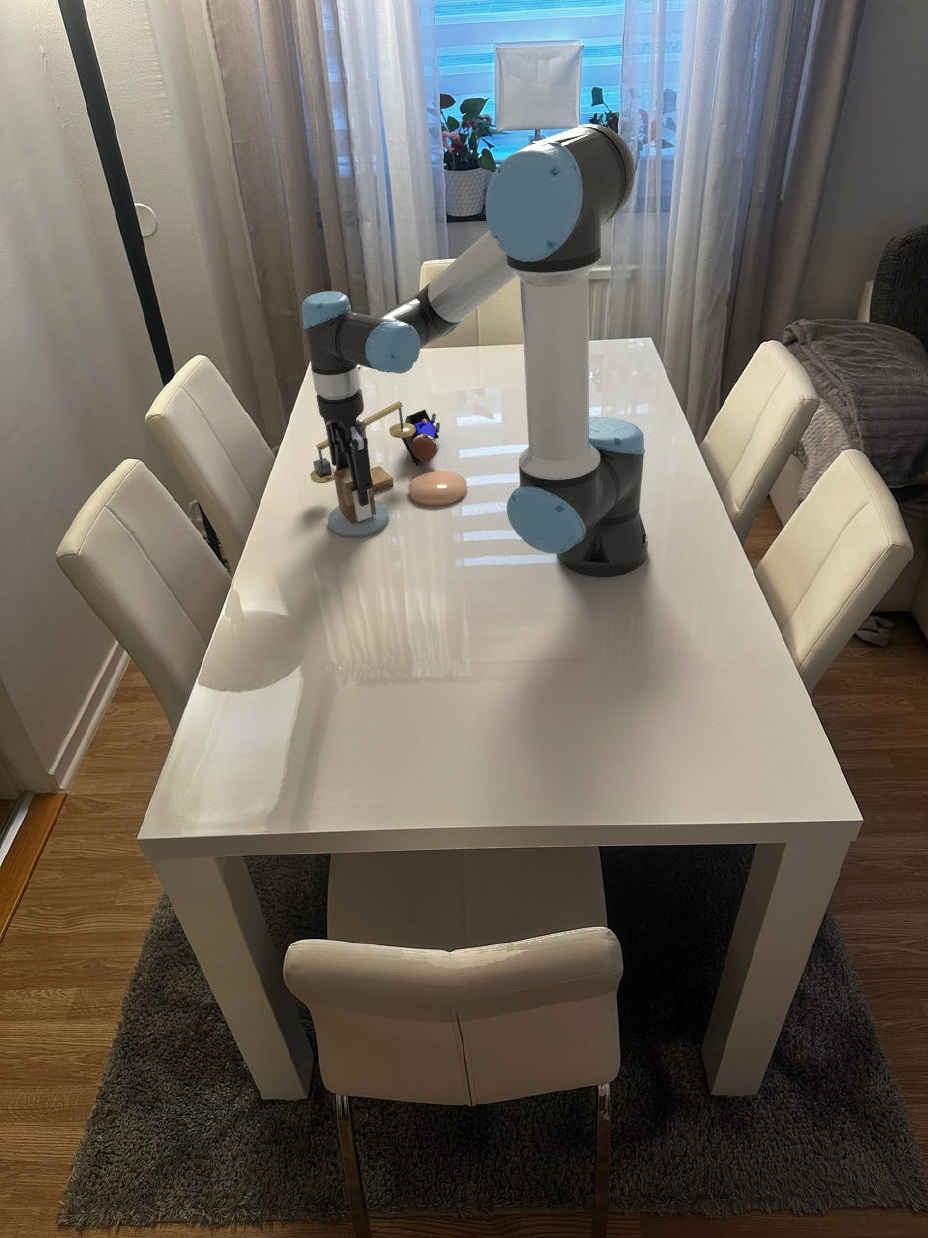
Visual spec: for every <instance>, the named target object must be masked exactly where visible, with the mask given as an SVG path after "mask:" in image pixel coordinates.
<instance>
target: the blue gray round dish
mask: <svg viewBox="0 0 928 1238" xmlns="http://www.w3.org/2000/svg"><path fill="white" fill-rule="evenodd" d="M374 501H375V508H376V515H373V516H372V517H370V518H367V519H365V520H362V521H359V522H358V521H356V522H353V523H351V522H350V521H349V520H348V519H347V518H346V517H345V516H344V515H343V514H342V513H341V512H340V508H339V505H338V506H336V507H335V508H333V509H332V510H331V511H330V512H329V515H328V517H327V521H328V526H329V529H330V530H331V532H333V533H334V534H335V535H338V536H340V537H343V538H344V537H345V538H350V539H351V538H364V537H367V536H371V535H374V534H376V533H379V532H380V531H382V530H383V529H384V528H385V527H386V526H387V525H388V524H389V521H390V512H389V509H388V507H387V506H386V505H385V504H384V503H382V502H379V501H377V500H374Z"/></svg>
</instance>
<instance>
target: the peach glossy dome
mask: <svg viewBox="0 0 928 1238" xmlns="http://www.w3.org/2000/svg"><path fill="white" fill-rule="evenodd" d="M467 485H468V484H467V480H466V479H465V477H464V476H463V475H461V474H460V473H457V472H454V471H449V470H435V471H429V472H425V473H422V474H419V475H418V476H416V477H415V478H413V479H412V480H411V481H410V482H409V484H408V495H409V497H410V499H411V500H412V501H414V503H417V504H420V505H423V506H429V507H439V506H447V505H450V504H454V503H456V502H458V501H459V500H461V499H463V498H464V496H465V495H466V494H467V491H468V486H467Z"/></svg>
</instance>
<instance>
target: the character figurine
mask: <svg viewBox="0 0 928 1238" xmlns="http://www.w3.org/2000/svg"><path fill="white" fill-rule="evenodd" d="M436 418H437V414H436V413H432V414H431V419H430V416H429V414H428V412H427V410H426V409H422V410H420V411H417V412H414V413H413V414H409V415H407V416H406V417H405V420H404V423H409V424H412V425H414V426H415V429H416V432H415V433H414V434H413V435H412V436H409V437H405V438H400V439H401V440H402V442H403V445H404V446H405V448H406V450H407V452H408V454H409V456H410V458H411V459H412V461H413V463H414V466H415V467H418V466H420V461H423V462H425V461H427V462H428V461H430V460H432V459H433V458H435V456H436V455H437V453H438V448H439V447H438V443H437V441H436V439H440V436H439V435H438V433H439V432H440V427H441V423H440V422H436ZM435 422H436V423H435Z"/></svg>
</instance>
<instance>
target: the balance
mask: <svg viewBox="0 0 928 1238" xmlns="http://www.w3.org/2000/svg"><path fill="white" fill-rule="evenodd" d="M402 408H403V403H402V402H401V401H397V402H395V403H393V404H391V405H389V406H388V407H387V406H386V408H384V409H382V410H380V411H378V412H376V413H374V414H373V415H372V414H371V415H370V416H369V417H368V416H367V418H365V419H361V418H357V419H356V421H357V423H358V424H359V427H360V437H364V436H366V437H367V432H366V429H367V426H369V425H371V424H373V423H375V422H376V421H379V420H381V419H382V418H384V417H386V416H388V415H390V414H392V413H393V412H395V411H397V410H398V412H399V413H398V414H399V421H400V422H399V423H397V424H394V425H392V426H391V427H389V431H388V432H389V434H390V436H391V437H393V438H397V439H401V438H405V437H409V436H412V435H413V434H414V433H415V432H416V429H415V426H414V425H412V424H409V423H405V422H404V419H403V412H402ZM315 447H316V449H317V453H318V457H319V459H317V460H314V461H313V468H314V470H312V471H311V473H310V475H309V476H310V480H311V481H312V482H314V483H316V484H328V483H330V482H333V481H335V479H334V473H333V472H335V471H336V468H334V467H332V466H331V465H332V464H331V462H330V461H329V460H328V459H327V458H326V457H323V456H322V455H323V454H322V450H324V449H326V448H329V443H328V438H327V439H326V440H323V441H321V442H320V443H318V444H316V445H315ZM369 452H370V451H368V455H369V456H370V454H369ZM369 462H370V463H371V461H370V458H369ZM370 469H371V476H372V482H373V493H375V492H378V491H380V490H383V489H385V488H389V487H393V486H394V478H393V477H392V476H391V475H390V474H389V473H388V472H387V471H385V469H383V467H381V466H380V465H378V466H376V467H371V465H370Z"/></svg>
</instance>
